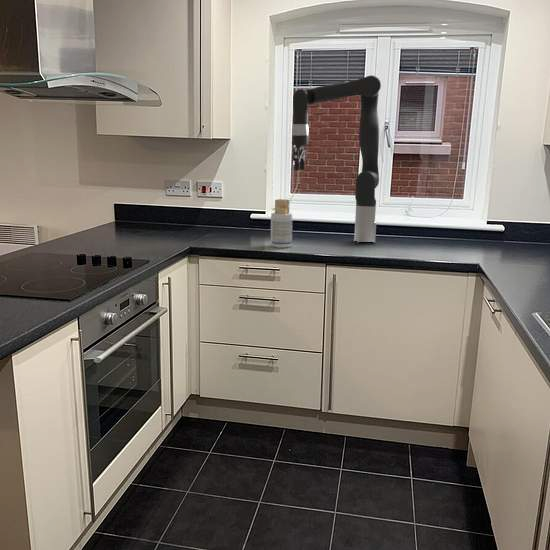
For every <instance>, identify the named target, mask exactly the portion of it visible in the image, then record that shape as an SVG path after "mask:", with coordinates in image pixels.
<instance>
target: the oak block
mask: <svg viewBox="0 0 550 550" xmlns="http://www.w3.org/2000/svg"><path fill="white" fill-rule="evenodd" d="M274 213H275V214H289V213H290V199H283V198H282V199H281V198H278V199H275V201H274Z"/></svg>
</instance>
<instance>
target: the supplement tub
mask: <svg viewBox="0 0 550 550" xmlns="http://www.w3.org/2000/svg"><path fill="white" fill-rule="evenodd" d="M292 245H293V213H291V212H289V214H275V212H272V213H271V215H270V246H271V247H273V248H279V249H280V248H281V249H282V248H283V249H286V248H291V247H292Z"/></svg>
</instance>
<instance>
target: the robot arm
mask: <svg viewBox="0 0 550 550" xmlns="http://www.w3.org/2000/svg"><path fill="white" fill-rule="evenodd" d="M381 89H382V83H381V80H380V78H379V77H377V76H376V75H372V74H371V75H367V76H364V77H360V78H359V79H355V80H353V81H352V80H351V81H348V82H343V83H336V84H335V83H333V84H329V85H328V84H327V85H320V86H317V87H314V88H309V89H302V88H299V89H297V90H295V92H294V93H293V96H292V105H293V106H292V107H293V109H292V110H293V116H292V128H291V129H292V130H291V131H292V132H291V133H292V134H291V144H292V145H293V146H295V147H293V148H292V161H293V162H294V166H293V167H294V170H293V171H304V170H305V168H306V165H305V162H306V161H307V147H306V146H308V145H309V129H310V128H309V113H308V112H309V111H308V110H309V106H310V105H314V104H319V103H328V102H332V101H337V100H341V99H344V98H348V97H357V96H358V97H359V96H360V102H361V112H360V119H359V128H358V142H359V149H360V154H361V159H362V166H361V172H359V174H358V175H357V176H356V179H355V191H354V193H355V195H354V197H355V201H356V202H355V216H354V221H355V222H354V236H353V241H354V242H355V241H357V242H356V243H359V242H373V243H376V235H377V234H376V233H377V232H376V231H377V222H376V209H377V200H376V195H375V194H376V193H375V192H376V188H378V185H379V183H380V175H379V174H380V173H379V161H378V160H379V150H380V149H379V147H380V145H379V144H380V121H379V120H380V119H379V113H378V112H379V111H378V102H379V95H380V91H381Z"/></svg>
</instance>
